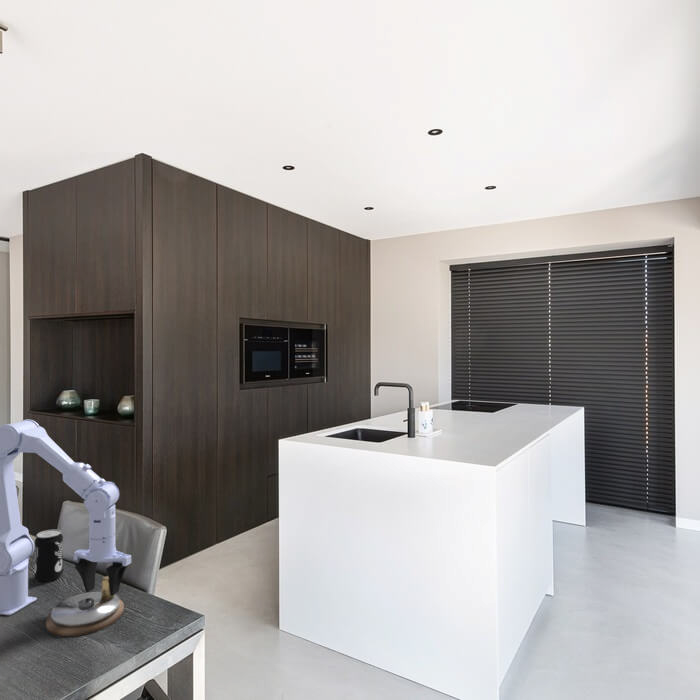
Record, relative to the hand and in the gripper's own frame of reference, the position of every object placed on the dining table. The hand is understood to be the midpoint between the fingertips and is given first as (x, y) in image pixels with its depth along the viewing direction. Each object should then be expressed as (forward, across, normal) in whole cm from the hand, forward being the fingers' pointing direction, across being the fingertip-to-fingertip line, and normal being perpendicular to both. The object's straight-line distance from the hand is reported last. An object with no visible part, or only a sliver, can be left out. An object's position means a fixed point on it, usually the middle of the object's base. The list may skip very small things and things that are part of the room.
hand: (102, 591), depth 125 cm
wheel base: (+3, 0, +5) cm, 6 cm away
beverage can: (+3, +24, -10) cm, 26 cm away
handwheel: (+2, 0, +5) cm, 6 cm away
